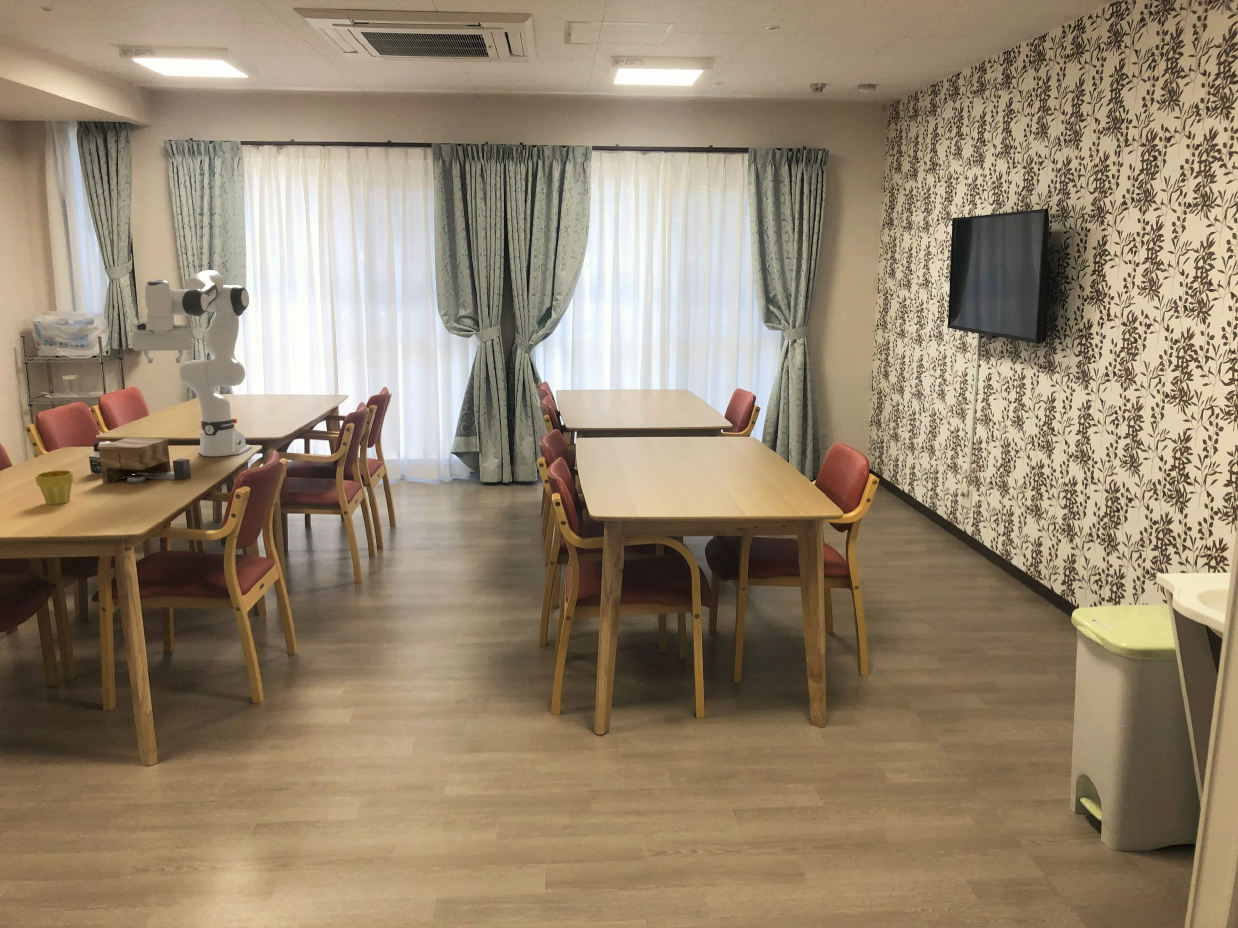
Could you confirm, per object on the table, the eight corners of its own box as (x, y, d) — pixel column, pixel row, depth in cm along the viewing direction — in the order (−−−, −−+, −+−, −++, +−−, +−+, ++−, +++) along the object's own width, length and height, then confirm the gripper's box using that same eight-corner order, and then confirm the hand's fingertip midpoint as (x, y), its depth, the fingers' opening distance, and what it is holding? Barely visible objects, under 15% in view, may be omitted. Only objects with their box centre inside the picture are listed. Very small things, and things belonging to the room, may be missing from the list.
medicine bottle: (90, 473, 342) (86, 442, 339) (108, 470, 348) (104, 439, 346) (103, 475, 339) (99, 444, 336) (121, 471, 345) (117, 440, 343)
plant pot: (40, 508, 294) (36, 478, 292) (38, 501, 302) (34, 472, 300) (77, 503, 300) (74, 474, 298) (74, 496, 308) (70, 468, 306)
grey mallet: (142, 475, 339) (140, 457, 338) (191, 477, 337) (189, 459, 335) (135, 478, 336) (133, 459, 334) (184, 480, 333) (182, 461, 331)
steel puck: (134, 480, 333) (133, 473, 332) (149, 481, 332) (148, 474, 331) (123, 484, 327) (122, 477, 326) (138, 485, 326) (137, 478, 325)
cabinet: (132, 472, 344) (128, 437, 341) (172, 474, 341) (168, 439, 338) (101, 483, 327) (97, 446, 325) (143, 484, 325) (139, 447, 322)
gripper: (193, 324, 340) (196, 361, 342) (133, 325, 335) (137, 362, 337) (190, 325, 334) (193, 363, 336) (128, 325, 329) (132, 364, 331)
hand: (164, 362), depth 337 cm, fingers open, 8 cm apart
